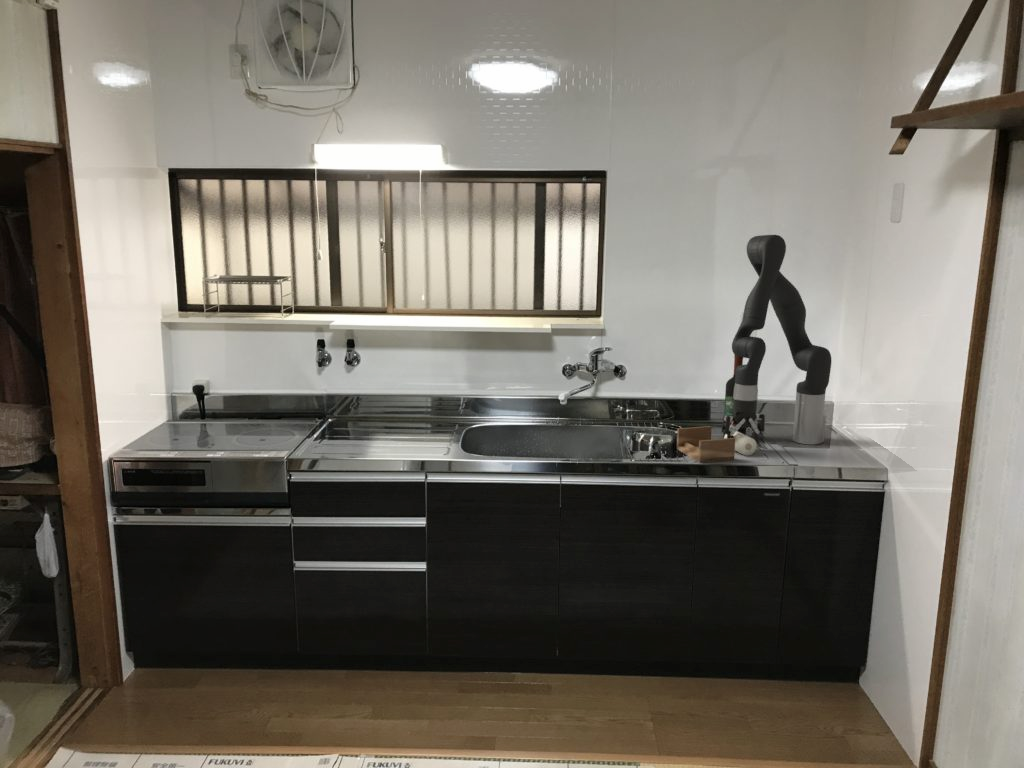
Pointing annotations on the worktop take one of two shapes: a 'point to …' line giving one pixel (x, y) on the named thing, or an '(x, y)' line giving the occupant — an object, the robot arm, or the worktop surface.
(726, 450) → the walnut cradle
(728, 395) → the wine bottle
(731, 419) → the robot arm
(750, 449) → the white cylinder
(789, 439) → the worktop surface
